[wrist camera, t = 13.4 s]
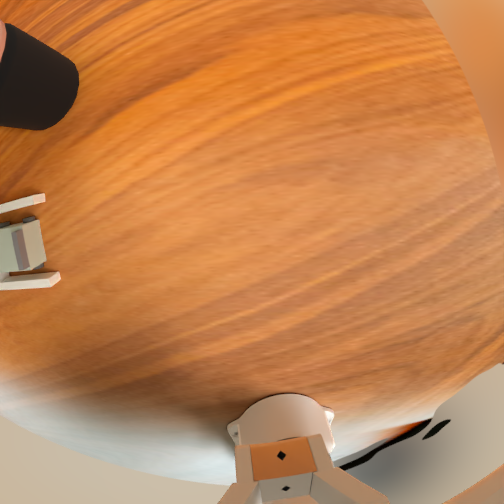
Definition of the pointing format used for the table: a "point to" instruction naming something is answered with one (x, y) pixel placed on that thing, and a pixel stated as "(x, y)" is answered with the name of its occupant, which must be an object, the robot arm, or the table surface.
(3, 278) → the dock bay
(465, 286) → the table surface
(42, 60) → the coffee jar
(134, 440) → the table surface
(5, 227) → the sage cart
